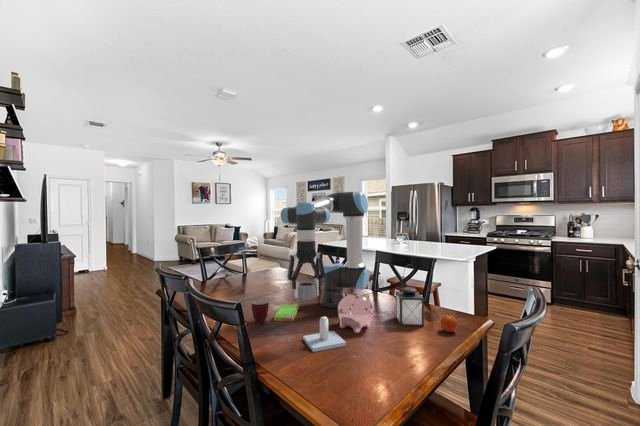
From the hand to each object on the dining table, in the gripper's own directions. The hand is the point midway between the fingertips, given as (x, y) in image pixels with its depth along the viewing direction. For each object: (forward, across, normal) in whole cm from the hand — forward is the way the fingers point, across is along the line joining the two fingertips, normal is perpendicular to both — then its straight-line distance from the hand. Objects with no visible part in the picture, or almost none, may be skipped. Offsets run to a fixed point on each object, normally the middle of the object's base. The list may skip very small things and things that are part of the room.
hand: (306, 295), depth 120 cm
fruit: (+20, -63, +11) cm, 67 cm away
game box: (+21, -1, -37) cm, 43 cm away
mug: (+20, +15, -29) cm, 38 cm away
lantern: (+20, -54, -4) cm, 58 cm away
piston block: (+20, -7, +2) cm, 21 cm away
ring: (0, 0, 0) cm, 0 cm away
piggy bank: (+20, -27, -8) cm, 34 cm away
